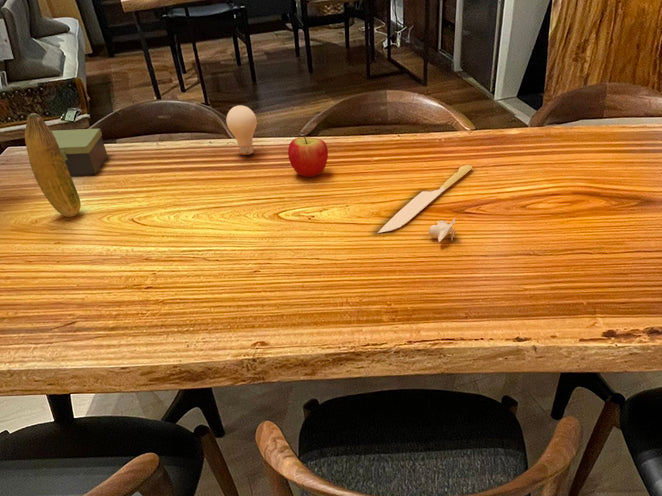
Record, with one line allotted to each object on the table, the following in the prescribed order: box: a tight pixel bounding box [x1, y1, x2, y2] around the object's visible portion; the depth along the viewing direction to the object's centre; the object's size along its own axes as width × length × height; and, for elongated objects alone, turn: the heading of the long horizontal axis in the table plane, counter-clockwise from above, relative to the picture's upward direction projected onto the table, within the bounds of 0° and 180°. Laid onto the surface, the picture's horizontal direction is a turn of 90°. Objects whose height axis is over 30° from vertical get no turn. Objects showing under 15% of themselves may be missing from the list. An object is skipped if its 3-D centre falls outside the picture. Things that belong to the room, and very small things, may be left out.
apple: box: [287, 129, 329, 178], centre depth 132 cm, size 8×8×10 cm
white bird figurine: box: [428, 217, 457, 243], centre depth 112 cm, size 8×5×5 cm, turn 177°
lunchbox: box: [51, 128, 109, 177], centre depth 140 cm, size 12×11×6 cm
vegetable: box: [24, 112, 82, 218], centre depth 118 cm, size 6×6×20 cm
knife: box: [377, 164, 473, 234], centre depth 125 cm, size 1×34×5 cm
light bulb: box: [225, 104, 258, 156], centre depth 140 cm, size 7×7×11 cm
